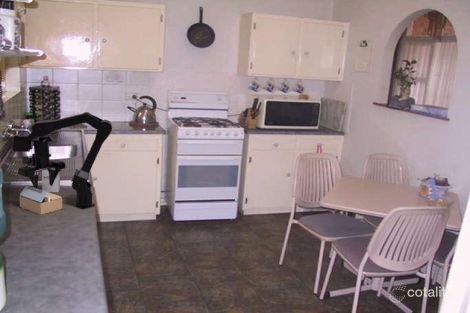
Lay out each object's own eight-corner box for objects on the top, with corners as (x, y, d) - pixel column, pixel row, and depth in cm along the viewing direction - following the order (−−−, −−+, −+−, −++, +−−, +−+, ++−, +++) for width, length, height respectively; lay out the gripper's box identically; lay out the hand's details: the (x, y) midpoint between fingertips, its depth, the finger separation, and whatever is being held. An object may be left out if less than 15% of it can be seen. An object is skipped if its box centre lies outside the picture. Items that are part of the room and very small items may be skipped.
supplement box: (41, 192, 204) (41, 166, 201) (44, 188, 211) (43, 162, 208) (58, 192, 206) (58, 166, 203) (60, 187, 213) (60, 162, 210)
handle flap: (47, 192, 177) (46, 191, 177) (40, 202, 175) (39, 201, 175) (27, 185, 184) (25, 184, 184) (20, 195, 182) (19, 194, 182)
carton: (62, 209, 185) (62, 194, 183) (40, 215, 176) (40, 199, 175) (41, 201, 192) (41, 187, 190) (19, 207, 183) (19, 192, 182)
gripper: (49, 144, 193) (51, 178, 197) (8, 152, 178) (11, 188, 181) (65, 149, 187) (67, 184, 191) (25, 157, 172) (27, 194, 176)
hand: (43, 187), depth 185 cm, fingers open, 7 cm apart
